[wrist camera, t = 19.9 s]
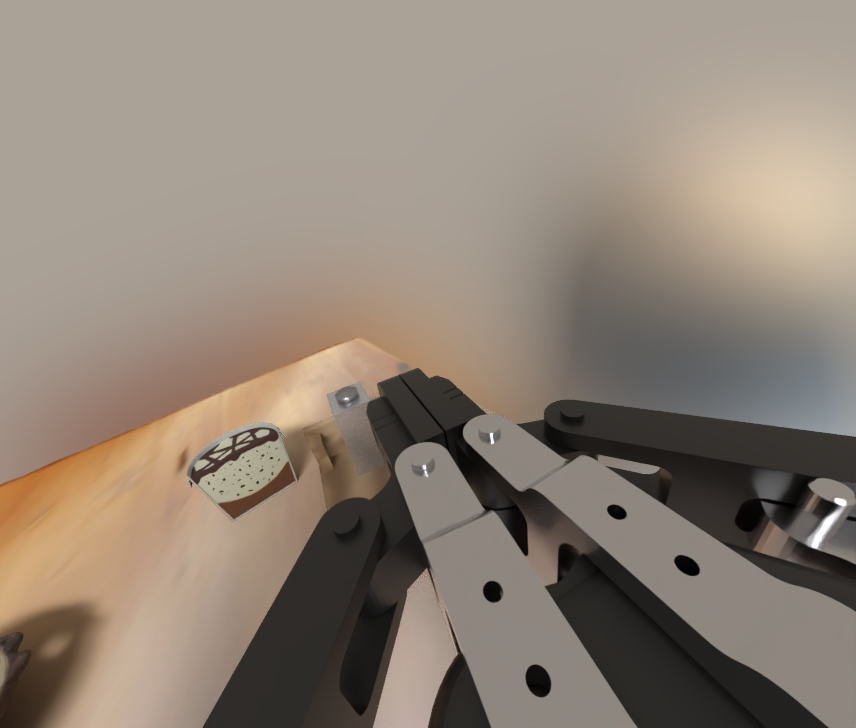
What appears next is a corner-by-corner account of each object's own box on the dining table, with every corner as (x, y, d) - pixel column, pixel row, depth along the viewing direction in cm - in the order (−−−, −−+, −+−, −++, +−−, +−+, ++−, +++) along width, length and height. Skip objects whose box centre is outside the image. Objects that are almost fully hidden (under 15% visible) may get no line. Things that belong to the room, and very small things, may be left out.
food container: (295, 456, 54) (270, 409, 50) (307, 475, 50) (280, 425, 45) (216, 502, 49) (179, 454, 44) (221, 529, 44) (181, 478, 39)
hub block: (359, 476, 46) (330, 410, 40) (350, 451, 51) (324, 389, 45) (391, 461, 47) (368, 395, 42) (380, 438, 52) (358, 376, 47)
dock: (340, 569, 36) (317, 529, 32) (320, 462, 52) (303, 428, 48) (458, 505, 40) (448, 464, 36) (405, 425, 56) (395, 390, 52)
